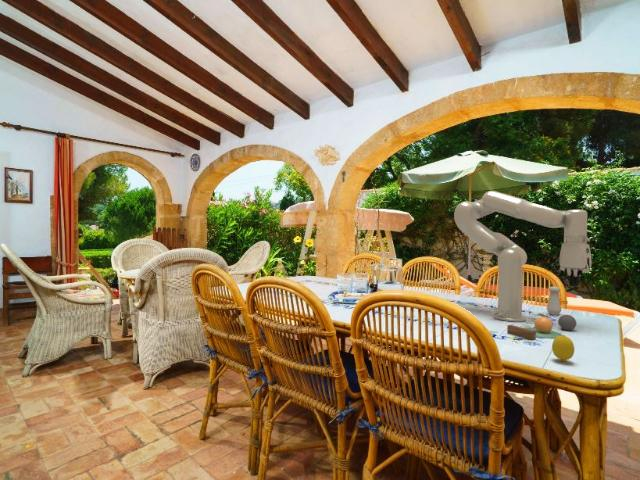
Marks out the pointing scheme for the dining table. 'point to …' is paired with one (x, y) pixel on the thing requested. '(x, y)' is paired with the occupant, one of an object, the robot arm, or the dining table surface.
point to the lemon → (563, 348)
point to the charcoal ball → (567, 322)
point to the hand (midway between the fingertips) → (573, 285)
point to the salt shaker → (554, 301)
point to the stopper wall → (521, 332)
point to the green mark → (545, 335)
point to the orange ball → (543, 324)
